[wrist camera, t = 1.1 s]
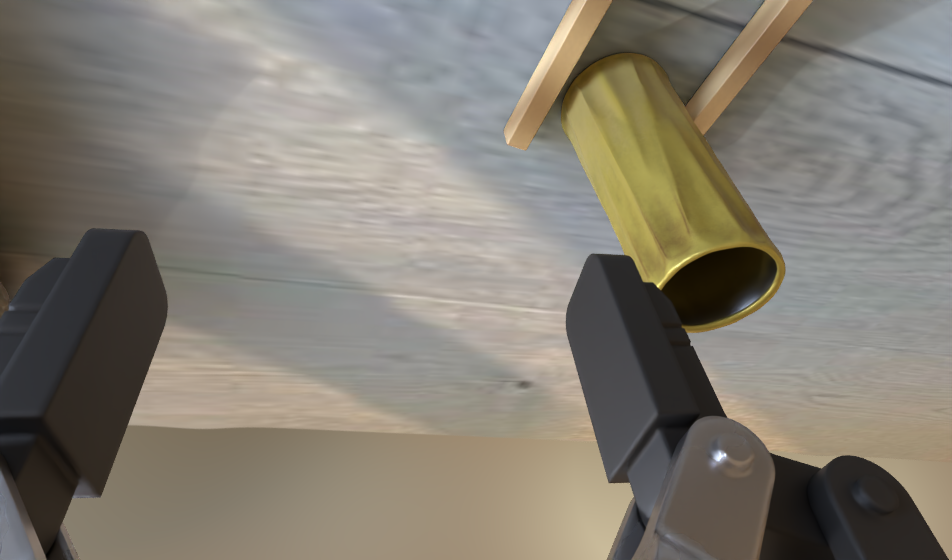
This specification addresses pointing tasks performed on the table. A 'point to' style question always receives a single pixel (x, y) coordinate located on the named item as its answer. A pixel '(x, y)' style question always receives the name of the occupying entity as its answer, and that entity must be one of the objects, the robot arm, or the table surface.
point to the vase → (669, 193)
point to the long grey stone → (3, 300)
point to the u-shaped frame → (704, 107)
